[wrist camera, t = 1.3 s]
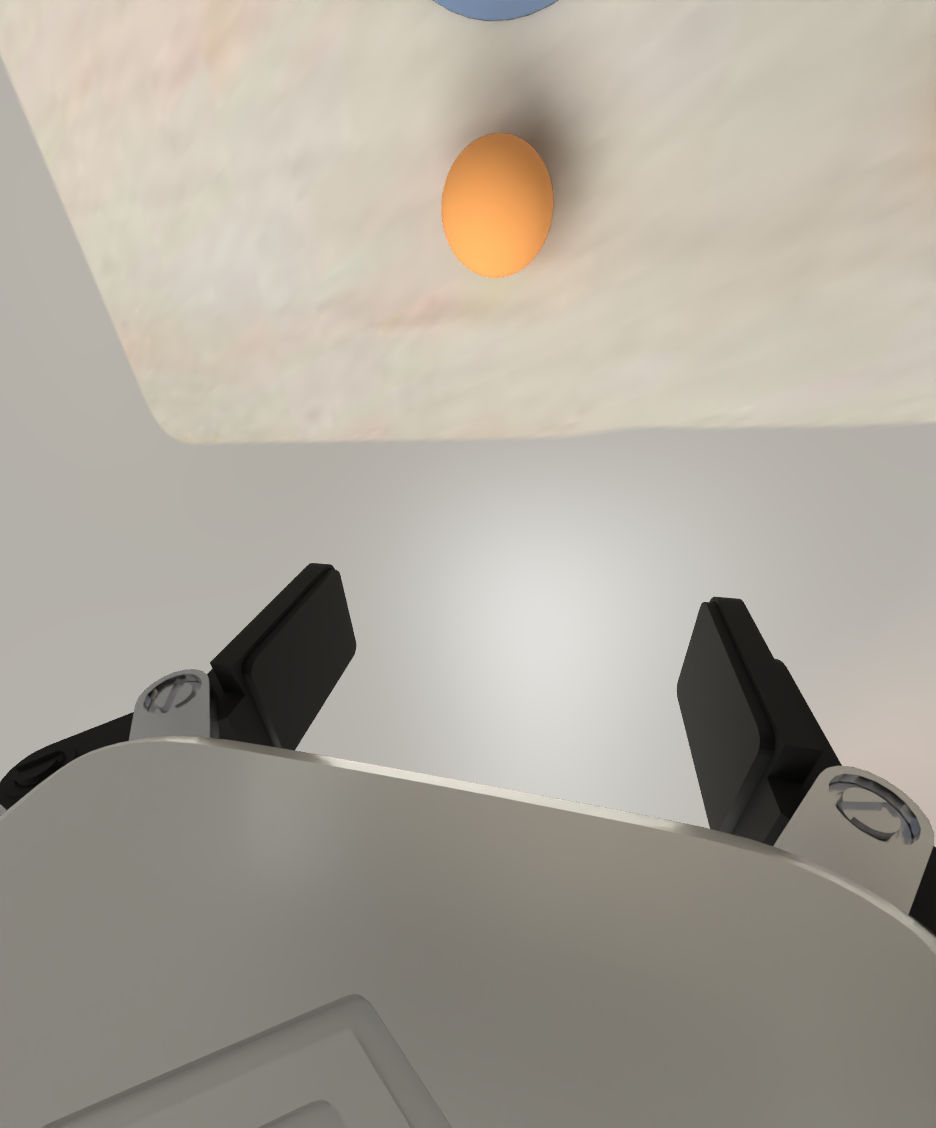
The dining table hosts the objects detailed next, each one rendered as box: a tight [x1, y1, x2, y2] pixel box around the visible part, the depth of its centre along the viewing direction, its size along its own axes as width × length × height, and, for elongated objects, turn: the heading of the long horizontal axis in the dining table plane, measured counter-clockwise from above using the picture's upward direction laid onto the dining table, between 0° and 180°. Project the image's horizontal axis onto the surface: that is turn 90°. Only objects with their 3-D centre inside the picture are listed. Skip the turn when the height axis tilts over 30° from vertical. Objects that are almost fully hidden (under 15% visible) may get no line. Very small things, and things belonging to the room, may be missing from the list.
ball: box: [442, 133, 553, 278], centre depth 19 cm, size 5×5×5 cm
